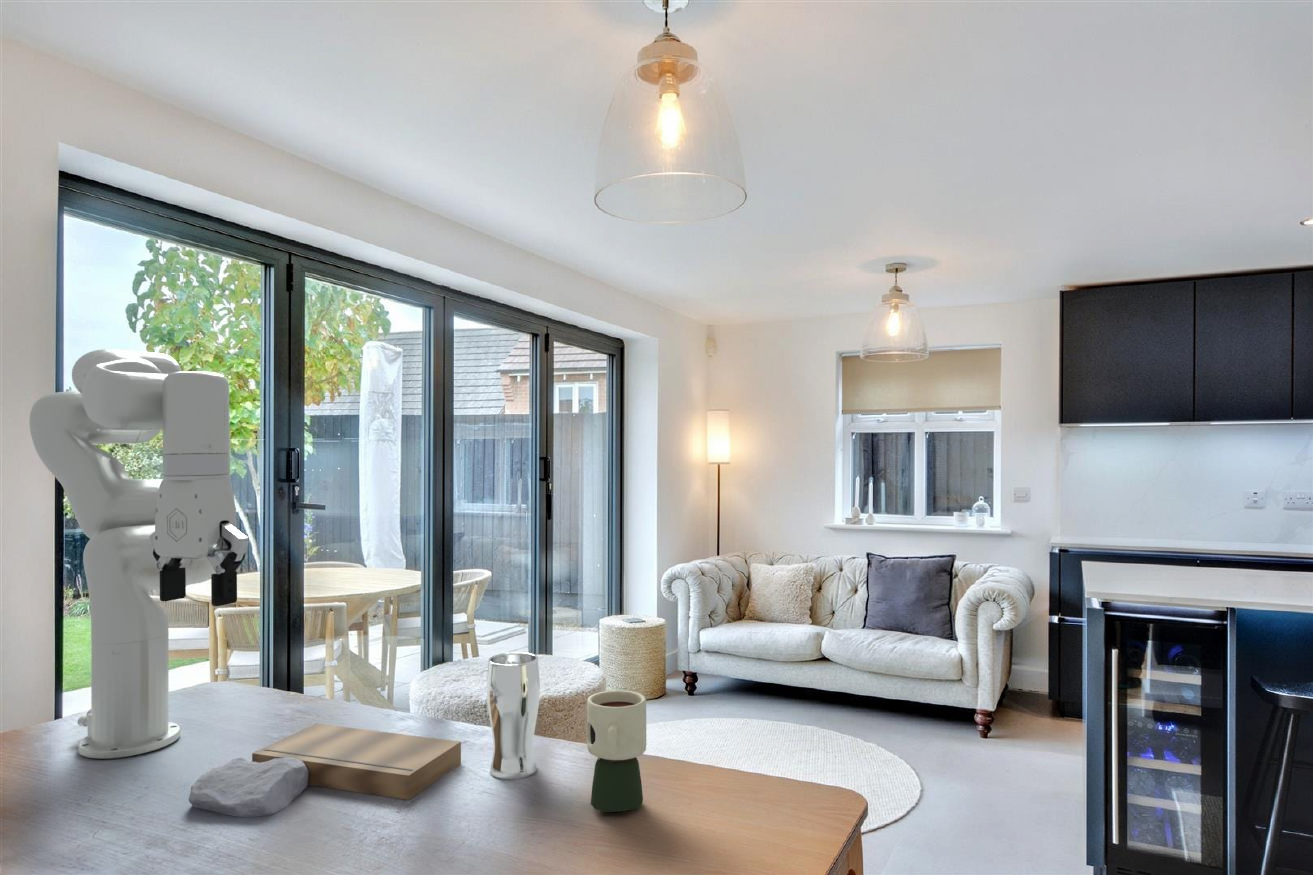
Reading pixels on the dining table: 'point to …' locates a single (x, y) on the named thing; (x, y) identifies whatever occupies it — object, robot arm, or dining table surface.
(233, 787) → the stone block
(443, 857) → the dining table surface
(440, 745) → the brown wooden board
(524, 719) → the beer glass
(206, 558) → the robot arm
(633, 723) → the character mug
